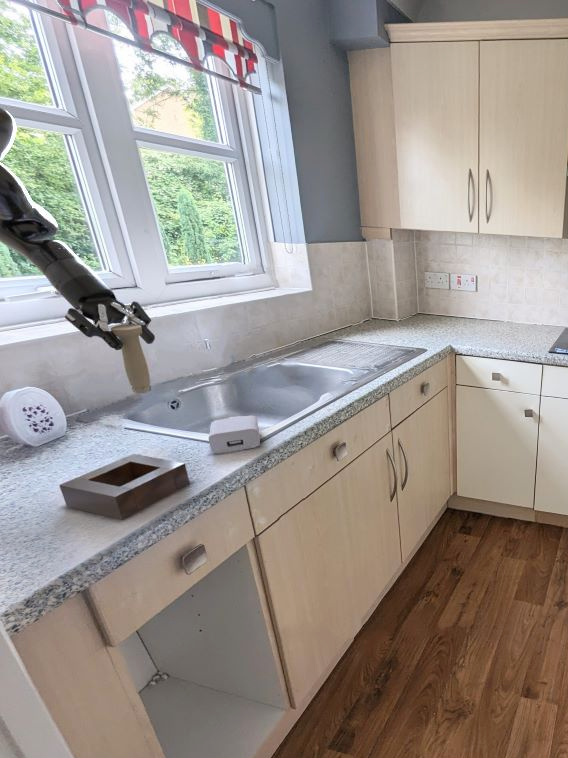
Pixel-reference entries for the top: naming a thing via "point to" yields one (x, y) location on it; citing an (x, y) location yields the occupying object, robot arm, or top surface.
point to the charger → (234, 434)
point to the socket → (125, 486)
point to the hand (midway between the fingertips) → (136, 344)
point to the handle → (133, 357)
